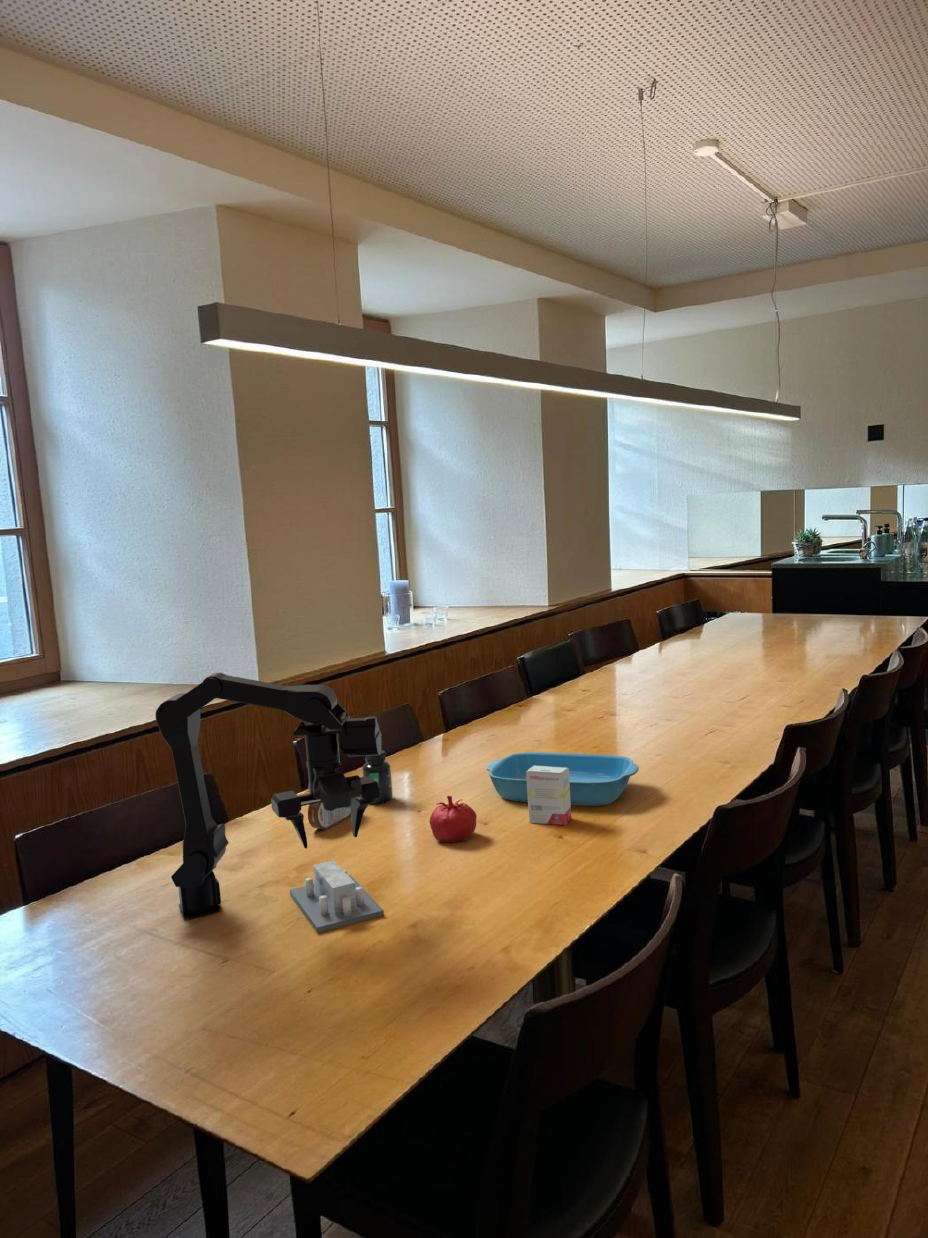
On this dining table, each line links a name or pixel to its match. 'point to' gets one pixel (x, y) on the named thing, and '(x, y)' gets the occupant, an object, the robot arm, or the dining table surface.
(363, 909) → the grey pegged platform
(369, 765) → the supplement bottle
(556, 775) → the ink box
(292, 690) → the robot arm
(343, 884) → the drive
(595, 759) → the casserole dish
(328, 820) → the tin
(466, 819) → the red tomato
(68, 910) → the dining table surface
